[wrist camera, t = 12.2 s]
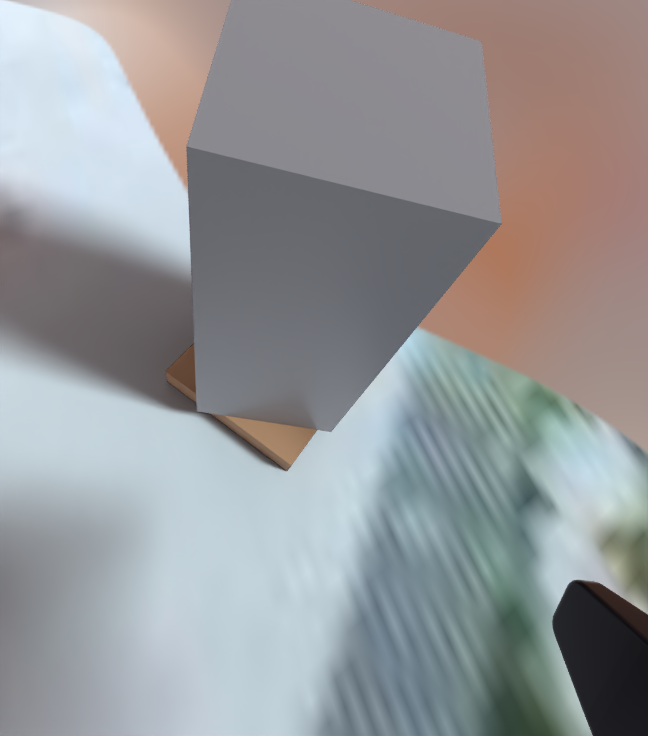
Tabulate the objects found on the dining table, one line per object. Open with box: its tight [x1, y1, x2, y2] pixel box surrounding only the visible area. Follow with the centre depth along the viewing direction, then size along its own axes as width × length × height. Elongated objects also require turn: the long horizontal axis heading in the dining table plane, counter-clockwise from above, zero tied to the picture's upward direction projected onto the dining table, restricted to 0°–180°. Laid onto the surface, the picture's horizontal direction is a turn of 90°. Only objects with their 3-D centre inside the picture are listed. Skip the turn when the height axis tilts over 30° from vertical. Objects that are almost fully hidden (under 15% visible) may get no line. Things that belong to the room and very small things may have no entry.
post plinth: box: [166, 343, 317, 471], centre depth 18 cm, size 6×6×6 cm
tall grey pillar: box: [187, 0, 502, 432], centre depth 14 cm, size 5×5×12 cm
